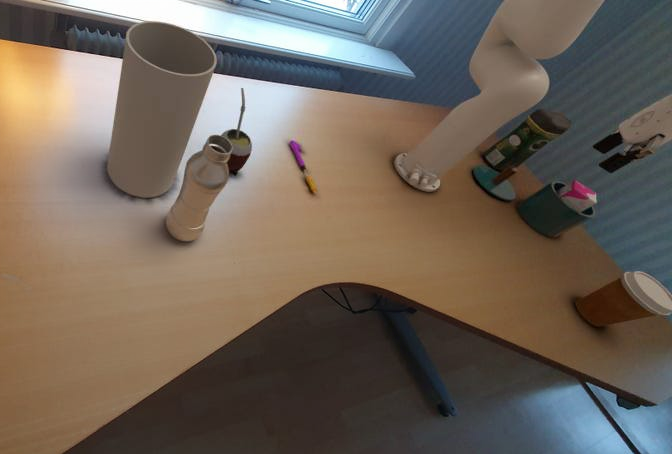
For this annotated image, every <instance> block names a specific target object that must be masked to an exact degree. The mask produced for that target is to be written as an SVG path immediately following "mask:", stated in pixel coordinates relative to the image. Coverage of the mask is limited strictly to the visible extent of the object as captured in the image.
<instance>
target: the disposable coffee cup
mask: <svg viewBox="0 0 672 454" xmlns="http://www.w3.org/2000/svg"><path fill="white" fill-rule="evenodd" d="M575 307H576V309H577V311H578V313H579V315H580V316H581V317H582V318H583V319H584V320H585V321H587V323H589V324H590V325H592V326H593V327H594V326H595V327H599V328H601V327H605V326H610V325H614V324H621V323H624V322H625V323H626V322H630V321H635V320H641V319H645V318H650V317H657V316H670V315H671V314H672V293H670V291H669V290H668V289H667V288H666V287H665V286H664V285H663V284H662V283H661V282H659V281H658V280H657V279H656V278H654V277H653V276H651V275H649V274H648V273H646V272H644V271H641V270H636V271H626V272H624V273H623V274H622V275H621V276H620V277H619V278H617V279H615V280H614V281H610V282H609V283H607V284H606V285H604V286H602V287H599V288H598V289H596V290H594V291H592V292H591V293H589V294H587V295H585V296H583V297H581V298H579V299H577V300H575Z"/></svg>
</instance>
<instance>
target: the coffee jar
mask: <svg viewBox="0 0 672 454" xmlns="http://www.w3.org/2000/svg"><path fill="white" fill-rule="evenodd" d="M571 126H572V121H571V119H570V118H569V117H568V116H566V114H564V113H563V112H558V111H554V110H551V109H546V108H541V107H540V108H539V107H538V108H536V109H535V110H534V111H533V112H531V113H530V114H529V115H528V116H527V117H526V118H525V119H524V120H523V121H522V122H521V123H520V124H519V125H517V127H516V128H514V129H513V130H511V131H510V132H509V133H507V134H506V135H505V136H503V138H501V139H499V141H497V142H496V143H494V144H493V145H491V146H490V147H489V148H488V149H487V150H485V151H483V158H484V160H485V162H486V163H487V164H488V165H490V166H491V167H492V168H494V170H498V171H500V172H502V171H503V170H505V169H506V168H507V167H509V166H510V165H512V166H514V167H515V168H517V169H518V168H519V167H520V166H522V164H523V163H525V162H526V161H527V160H528V159H530V158H531V157H532V156H533V155H535V154H536V153H538V152H539V151H540V150H541V149H542V148H543V147H545V146H547V144H549V143H551V142H552V141H553V140H555V139H557V138H559V137H561V136H562V135H563V134H564V133H566V132H567V131H568V130H569V129H570V128H571Z"/></svg>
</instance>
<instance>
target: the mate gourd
mask: <svg viewBox="0 0 672 454" xmlns="http://www.w3.org/2000/svg"><path fill="white" fill-rule="evenodd" d="M240 92H241V93H240V94H241V105H240V113H239V114H240V115H239V119H238V123H237V127H236V128H231V129H227V130H225V131H223V132H222V134H220V136H223V137H225V138H226V139H228V140H229V141H230V142H231V144H232V146H233V149H232V152H231V154H230V158H229V160H228V161H227V165H228V169H229V174H231V175H233V176H234V177H236V176H237V175H238V174H239V171H240V170H241V169H242V168H244V166H245V164H246V163H247V162H248V160H249V158H250V157H251V153H252V151H253V150H252V149H253V143H252V140H251V138H250V136H249V135H248V134H247V133H246V132H244V131H243V130H241V126H242V122H243V119H244V118H243V117H244V113H245V111H246V98H245V97H246V96H245V90H244V87H241V88H240Z"/></svg>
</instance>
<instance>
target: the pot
mask: <svg viewBox="0 0 672 454" xmlns="http://www.w3.org/2000/svg"><path fill="white" fill-rule="evenodd" d="M567 184H568V183H565V182H562V181H560V180H553V181H551V182H549V183H548V184H546V185H545V186H543V187H542V188H540V189H538V190H537V191H536V192H534V193H532V194H531V195H528V197H527V198H524V199H523V200H521V201H520V202H518V204H517V210H518V212H519V214H520V216H521V217H522V218H523V220H524V221H525V222H526V223H527V224H528V225H529V226H530V227H531V228H532V229H534V231H536V232H538V233H540V234H541V235H544V236H546V237H549V238H556V237H559V236H562V235H564V234H565V233H567V232H569V231H571V230H573V229H575V228H576V227H579V226H580V225H582V224H584V223H586V222H588V221H590V220H591V219H594V218H595V217H596V216H597V212H596V209H595V208H594V205H592V206H591V207H589V208H587V209H585V210H584V211H582V212H578V211H577V210H575V209H573V208H572V207H570V206H569V205H568V204H567V203H565V202H564V201H563V200H562V199H561V198H560V197H559V195H558V194H557V193H556V191H558V190H559V189H561V188H563V187H564V186H566V185H567Z"/></svg>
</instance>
